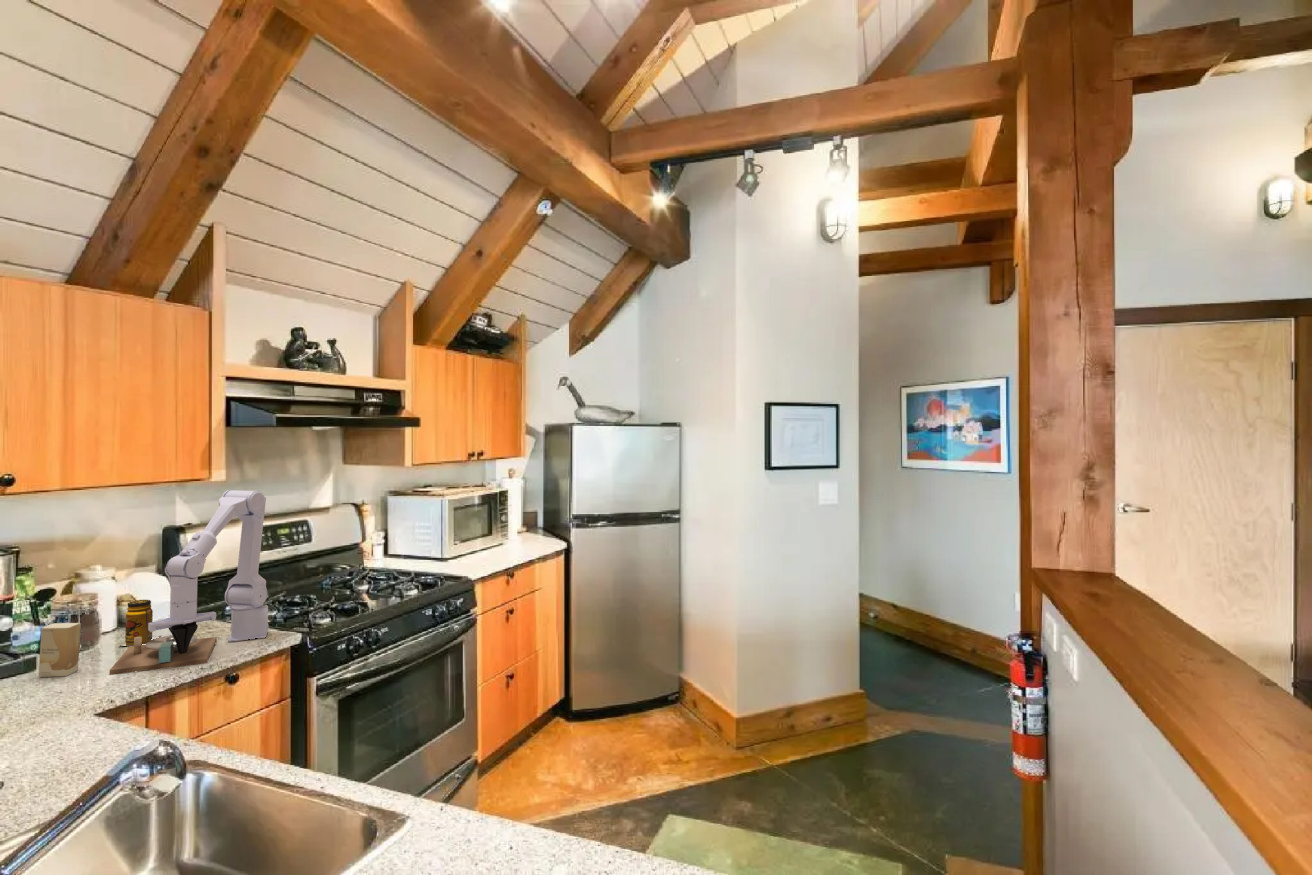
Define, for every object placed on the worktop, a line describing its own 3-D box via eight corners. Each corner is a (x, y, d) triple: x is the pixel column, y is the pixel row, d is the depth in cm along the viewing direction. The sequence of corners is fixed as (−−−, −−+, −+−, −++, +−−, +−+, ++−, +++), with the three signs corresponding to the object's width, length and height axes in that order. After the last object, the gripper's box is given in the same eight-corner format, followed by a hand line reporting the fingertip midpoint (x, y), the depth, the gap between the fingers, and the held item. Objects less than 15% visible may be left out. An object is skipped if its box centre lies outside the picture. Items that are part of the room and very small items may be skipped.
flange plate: (150, 647, 175) (151, 632, 175) (199, 641, 180) (200, 627, 180) (137, 665, 162) (137, 649, 162) (190, 659, 167) (190, 643, 167)
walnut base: (216, 640, 186) (217, 622, 186) (206, 662, 168) (207, 642, 168) (129, 650, 176) (129, 630, 176) (109, 674, 159) (109, 652, 159)
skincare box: (37, 677, 156) (38, 627, 156) (50, 671, 160) (51, 622, 160) (68, 676, 157) (69, 627, 157) (80, 670, 162) (81, 621, 162)
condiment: (118, 647, 179) (119, 605, 179) (132, 638, 187) (133, 597, 187) (149, 645, 181) (150, 603, 181) (162, 636, 189) (163, 596, 189)
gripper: (155, 609, 160) (154, 663, 160) (221, 598, 172) (219, 648, 172) (146, 604, 164) (144, 657, 164) (210, 594, 176) (209, 643, 176)
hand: (182, 652), depth 168 cm, fingers closed
